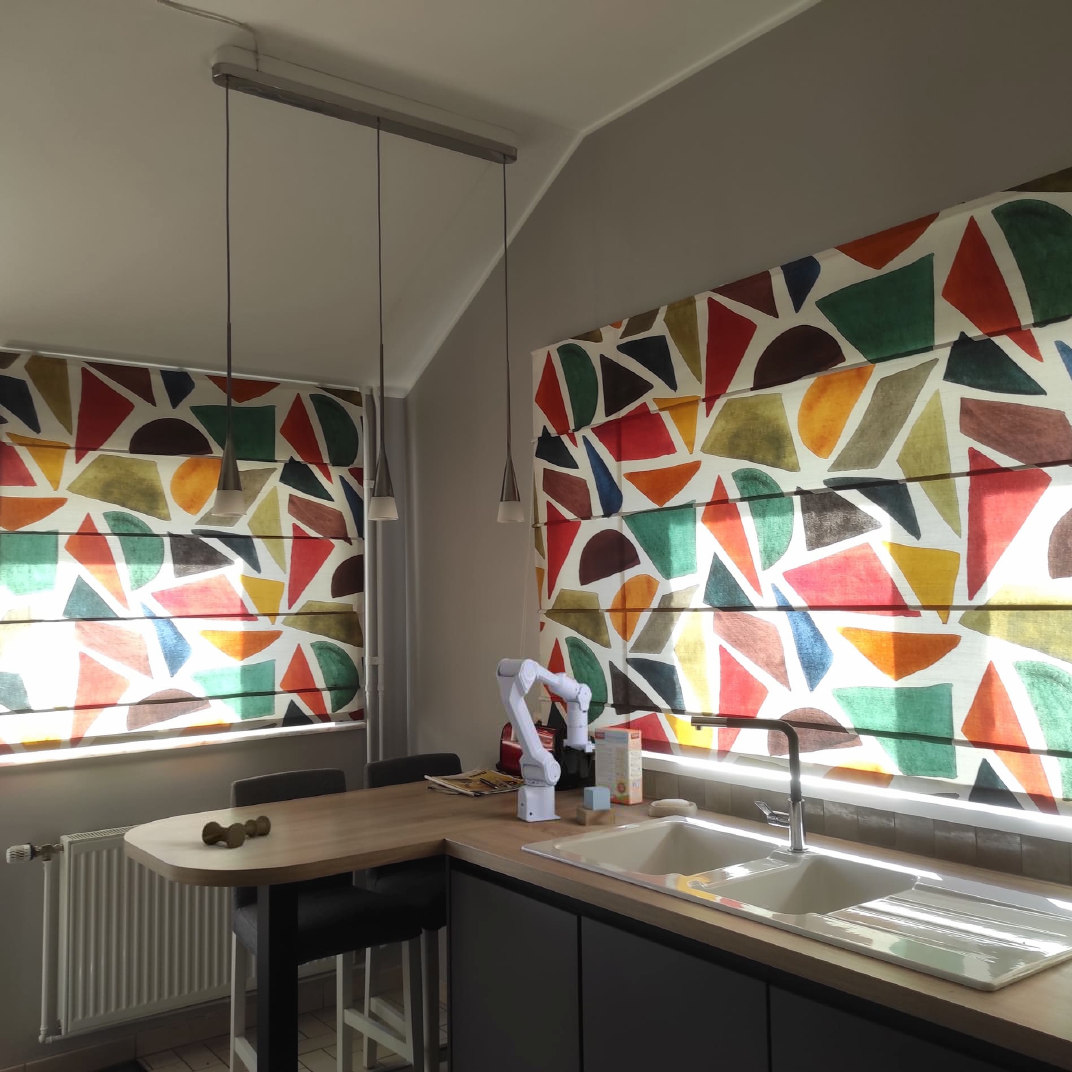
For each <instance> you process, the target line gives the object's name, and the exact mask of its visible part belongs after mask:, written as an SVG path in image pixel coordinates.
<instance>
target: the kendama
mask: <svg viewBox="0 0 1072 1072" xmlns="http://www.w3.org/2000/svg"><path fill="white" fill-rule="evenodd" d="M271 829H272V823H271V820H270V818H269V817H268V816H267V815H259V816H258V817H257V818H256V819H248V820H246V821H245V823H244V824H243V823H242V822H234V823H232V824H230V825H229V826H228V827H227V826H226V827H223V826H221V824H220V823H218V822H217V821H209V822H207V823H206V824H205V825H203V828H202V831H201V832H202V833H201V839H202V842H203V844H204V845H207V846H211V845H215V844H217V843H219V842H223V843H225V845H227V847H228V848H230V849H237V848H241V847H242V846H243V845H244V843H245V841H246V836H247V837H249V838H255V837H256V836H257V835H259V836H263V837H264V836H268V835H269V834H270V832H271Z"/></svg>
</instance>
